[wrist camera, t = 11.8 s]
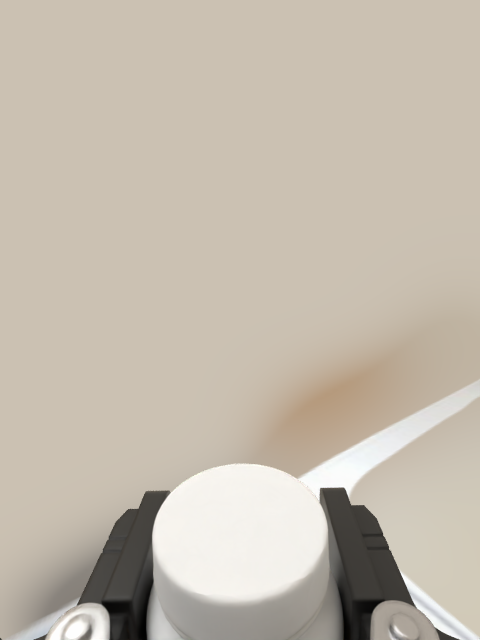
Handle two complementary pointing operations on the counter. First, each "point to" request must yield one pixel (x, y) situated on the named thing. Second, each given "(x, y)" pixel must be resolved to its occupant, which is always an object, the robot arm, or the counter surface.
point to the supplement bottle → (242, 560)
